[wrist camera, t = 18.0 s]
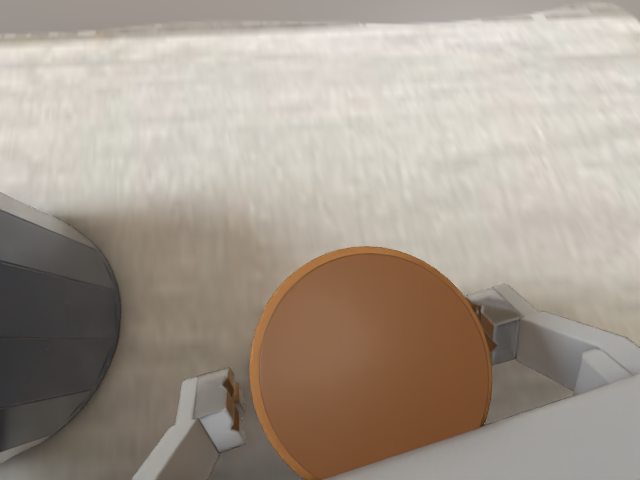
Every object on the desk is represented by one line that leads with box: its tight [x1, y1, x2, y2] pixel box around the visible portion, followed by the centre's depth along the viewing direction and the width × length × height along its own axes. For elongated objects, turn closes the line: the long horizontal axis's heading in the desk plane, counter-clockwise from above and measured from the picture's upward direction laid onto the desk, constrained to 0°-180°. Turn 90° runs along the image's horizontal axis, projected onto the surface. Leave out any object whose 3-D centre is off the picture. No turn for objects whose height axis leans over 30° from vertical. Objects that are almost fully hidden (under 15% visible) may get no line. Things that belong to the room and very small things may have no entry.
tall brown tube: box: [250, 246, 492, 480], centre depth 12 cm, size 6×6×10 cm
